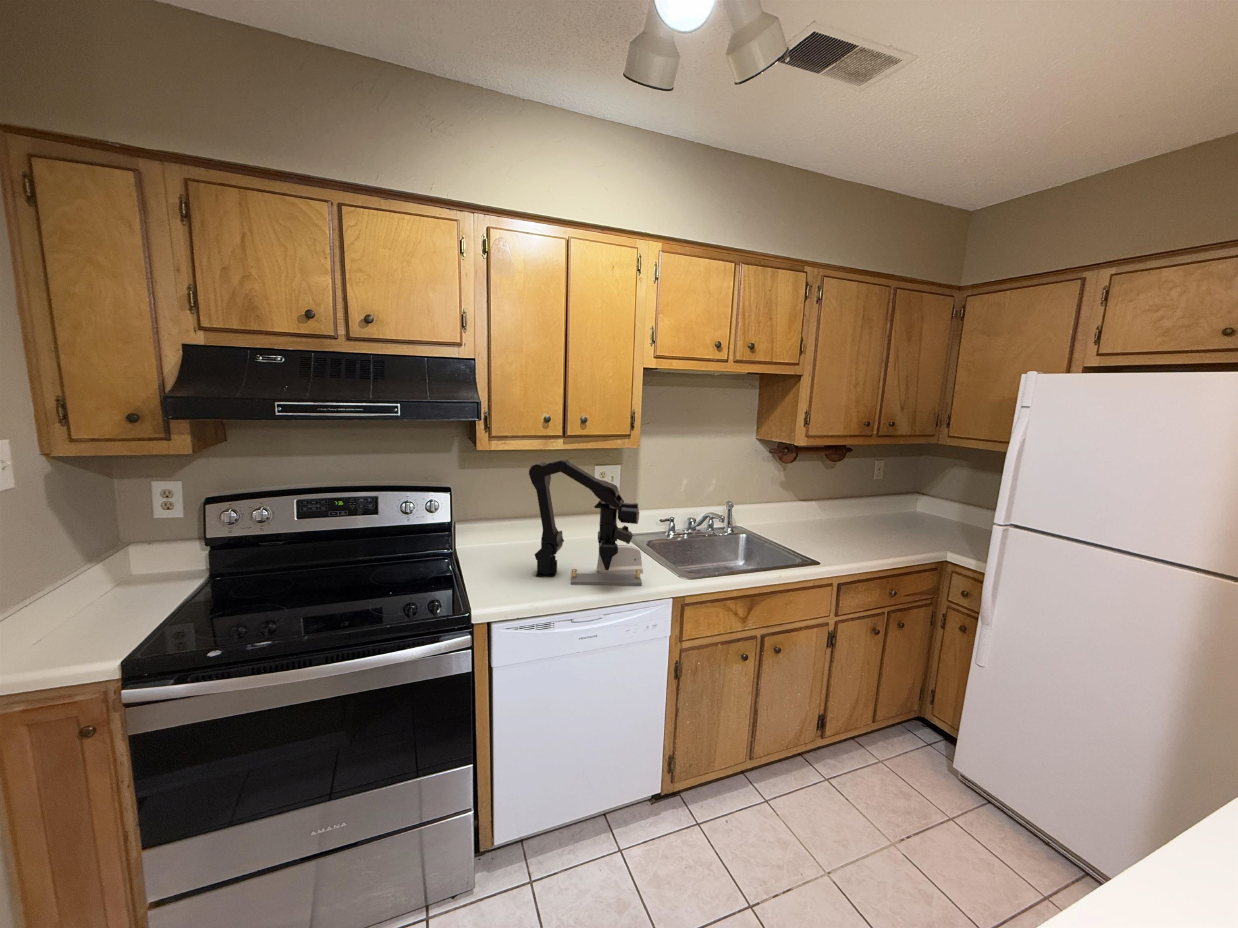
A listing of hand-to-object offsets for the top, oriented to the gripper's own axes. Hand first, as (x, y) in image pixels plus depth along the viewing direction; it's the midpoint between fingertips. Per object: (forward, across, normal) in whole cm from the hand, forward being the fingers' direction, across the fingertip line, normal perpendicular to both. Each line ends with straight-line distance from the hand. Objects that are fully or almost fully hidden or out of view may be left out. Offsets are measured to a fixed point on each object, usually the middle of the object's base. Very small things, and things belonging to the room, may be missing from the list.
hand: (606, 565), depth 173 cm
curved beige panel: (+6, +9, -5) cm, 12 cm away
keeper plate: (+6, 0, 0) cm, 6 cm away
